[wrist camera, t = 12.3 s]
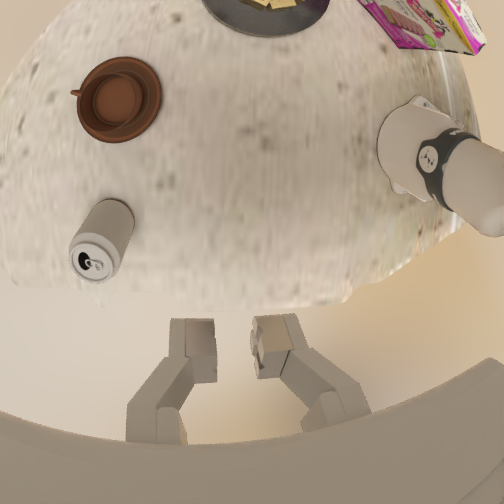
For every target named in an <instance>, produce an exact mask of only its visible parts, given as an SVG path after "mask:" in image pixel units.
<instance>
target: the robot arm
mask: <svg viewBox="0 0 504 504" xmlns="http://www.w3.org/2000/svg"><path fill="white" fill-rule="evenodd" d="M423 105H424V106H423ZM463 129H464V124H463V123H461V122H459V121H458V120H455V118H453V117H452V116H448V115H446V114H444V113H442V112H441V111H440V110H439V109H438V108H436V107H435V106H434V105H433V104H432V103H430V102H429V101H428V100H427V99H425V98H424V97H422V96H420V95H416V96H414V97H413V98H412V99H411V100H410V102H409V103H408V104H406V105H404V106H401V107H399V108H397V109H395V110H394V111H393V112H392V113H391V114H390V115H389V116H388V117H387V118H386V120H385V121H384V123H383V125H382V127H381V130H380V133H379V137H378V157H379V161H380V164H381V166H382V168H383V170H384V172H385V173H386V174H387V176H388V177H389V179H390V182H391V187H392V190H393V191H394V192H395V193H397V194H407V193H410V194H412V195H413V196H415V197H416V198H418V199H419V200H421V201H423V202H426V201H433V200H435V201H436V202H437V203H438V204H439V205H441V206H442V207H444V208H446V209H448V210H449V211H452V212H456V213H457V214H458V215H459V216H461V217H462V218H463V219H464V220H466V221H467V222H468V223H469V224H470V225H472V226H473V227H474V228H475V229H476V230H477V231H479V232H480V233H481V234H483V235H485V236H489V237H500V236H503V235H504V152H502V151H500V150H498V149H495V148H493V147H491V146H489V145H487V144H484V143H482V142H481V141H480V140H479V139H478V138H477V137H476V136H474V135H472V134H471V133H469V132H467V131H464V130H463ZM252 324H253V330H252V331H251V336H250V344H251V351H252V355H253V356H255V357H256V358H255V363H254V366H255V370H256V375H257V379H267V378H278V377H280V379H281V380H282V381H283V382H284V383H285V384H286V385H287V387H288V388H289V389H291V391H292V392H293V393H294V394H295V395H296V396H297V397H298V398H299V399H300V400H301V401H302V402H303V403H304V404H305V405H306V406H307V407H308V408H309V409H310V410H309V411H308V412H307V414H306V415H305V416H304V418H303V419H302V420H301V426H302V429H303V432H302V433H298V434H292V435H287V436H281V437H275V438H269V439H261V440H253V441H244V442H234V443H221V444H197V445H188V443H187V433H186V431H185V428H184V425H183V422H182V420H181V417H180V414H179V410H180V408H181V407H182V405H183V403H184V401H185V400H186V398H187V396H188V395H189V393H190V391H191V390H192V388H193V386H194V384H196V383H213V382H217V348H216V339H215V327H214V319H195V318H192V319H191V318H190V319H189V318H186V319H180V318H178V319H177V318H175V319H174V318H171V321H170V335H169V336H170V337H169V357H165V358H164V359H163V360H162V361H161V362H160V364H159V365H158V366H157V367H156V369H155V370H154V371H153V373H152V374H151V375H150V376H149V378H148V379H147V380H146V381H145V383H144V384H143V385H142V386H141V388H140V389H139V390H138V392H137V393H136V394H135V396H134V397H133V398H132V399H131V400H130V402H129V403H128V404H127V419H126V441H118V440H110V439H103V438H97V437H91V436H85V435H81V434H76V433H71V432H67V431H62V430H58V429H55V428H51V427H47V426H44V425H40V424H37V423H33V422H30V421H27V420H24V419H21V418H19V417H16V416H13V415H10V414H8V413H5V412H3V411H0V504H504V365H503V364H501V363H500V362H498V361H497V360H495V359H493V358H487V359H485V360H483V361H482V362H480V363H478V364H477V365H475V366H473V367H472V368H470V369H468V370H467V371H465V372H463V373H461V374H460V375H458V376H456V377H454V378H453V379H450V380H449V381H447V382H445V383H443V384H441V385H439V386H437V387H435V388H433V389H431V390H429V391H426V392H424V393H422V394H420V395H418V396H416V397H413V398H411V399H408V400H406V401H404V402H401V403H399V404H396V405H394V406H391V407H388V408H386V409H383V410H380V411H377V412H375V413H371V410H370V408H369V405H368V403H367V400H366V398H365V396H364V393H363V391H362V389H361V386H360V384H359V383H358V382H357V381H355V380H354V379H353V378H351V377H350V376H349V375H347V374H346V373H345V372H343V371H342V370H341V369H339V368H338V367H337V366H335V365H334V364H333V363H332V362H330V361H329V360H328V359H326V358H325V357H324V356H322V355H321V354H320V353H318V352H317V351H316V350H315V349H314V348H309V347H308V345H307V342H306V339H305V337H304V334H303V331H302V329H301V326H300V324H299V321H298V318H297V316H296V315H295V313H293V314H281V315H280V314H278V315H265V316H254V318H253V323H252Z"/></svg>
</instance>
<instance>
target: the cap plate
mask: <svg viewBox="0 0 504 504" xmlns="http://www.w3.org/2000/svg"><path fill="white" fill-rule="evenodd" d="M202 1H203V3H204V5H205V7H206V8H207V10H208V11H209V12H210V13H211V14H212V16H213V17H214V18H216V19H217V20H218V21H219V22H221V23H222V24H224V25H225V26H227V27H229V28H231V29H233V30H235V31H238V32H240V33H244V34H247V35H252V36H257V37H281V36H286V35H291V34H293V33H296V32H299V31H301V30H303V29H305V28H307V27H309V26H311V25H312V24H314V23H315V22H316V21H318V20H319V19H320V18H321V17H322V15H323V14H324V13H325V11H326V9H327V7H328V5H329V1H330V0H304V2H302V3H301V4H299V5H298V6H295V7H294V8H292V9H287V10H280V11H274V12H268V10H267V7H265V8H264V9H263V10H262V11H259V10H257V9H255V8H253V7H251V6H248V5H246V4H244V3H241V2H239V1H240V0H202Z"/></svg>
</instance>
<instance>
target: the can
mask: <svg viewBox="0 0 504 504" xmlns="http://www.w3.org/2000/svg"><path fill="white" fill-rule="evenodd" d="M133 228H134V218H133V216H132V213H131V211H130V210H129V209H128V208H127V206H125V205H124V204H122V203H121V202H118V201H115V200H104V201H101V202H99V203H98V204H97V205H96V206H95V207H94V208H93V209H92V211H91V212H90V214H89V215H88V217H87V218H86V219H85V221H84V222H83V224H82V225H81V227H80V228H79V230H78V231H77V233H76V234H75V236H74V238H73V239H72V241H71V243H70V245H69V262H70V266H71V268H72V270H73V271H74V273H75V274H76V275H77V276H78V277H79V278H81V279H82V280H84V281H86V282H89V283H94V284H100V283H104V282H106V281H107V280H109V279H110V278H111V277H113V276H114V275H115V274H116V273H117V272H118V270H119V268H120V265H121V262H122V259H123V256H124V253H125V250H126V248H127V245H128V242H129V240H130V237H131V234H132V232H133Z"/></svg>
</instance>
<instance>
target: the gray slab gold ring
mask: <svg viewBox="0 0 504 504" xmlns="http://www.w3.org/2000/svg"><path fill="white" fill-rule="evenodd" d="M239 2H241V3H244V4H246V5H248V6H251V7H253V8H255V9H257V10H259V11H262V10H263V9H264V8H265V7H267V10H268V12H274V11H280V10H287V9H292V8H294V7H295V6H298V5H299V4H301V3H302V2H304V0H240V1H239Z"/></svg>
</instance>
